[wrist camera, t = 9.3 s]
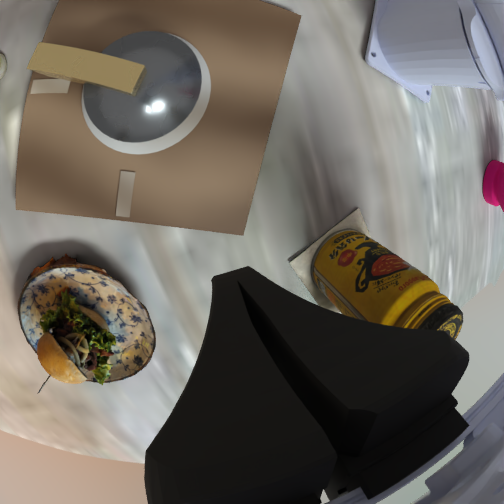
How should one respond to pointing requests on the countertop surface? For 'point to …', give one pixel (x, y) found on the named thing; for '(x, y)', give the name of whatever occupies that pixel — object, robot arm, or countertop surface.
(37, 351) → the plate of food
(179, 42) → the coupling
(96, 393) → the countertop surface
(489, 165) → the pepper mill
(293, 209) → the countertop surface
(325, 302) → the condiment
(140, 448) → the countertop surface
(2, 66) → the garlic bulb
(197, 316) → the countertop surface
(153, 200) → the post base
